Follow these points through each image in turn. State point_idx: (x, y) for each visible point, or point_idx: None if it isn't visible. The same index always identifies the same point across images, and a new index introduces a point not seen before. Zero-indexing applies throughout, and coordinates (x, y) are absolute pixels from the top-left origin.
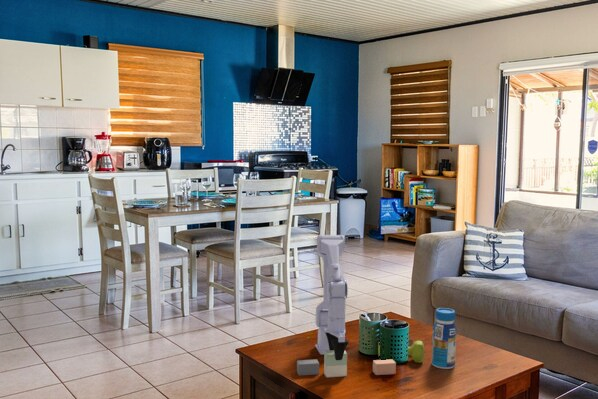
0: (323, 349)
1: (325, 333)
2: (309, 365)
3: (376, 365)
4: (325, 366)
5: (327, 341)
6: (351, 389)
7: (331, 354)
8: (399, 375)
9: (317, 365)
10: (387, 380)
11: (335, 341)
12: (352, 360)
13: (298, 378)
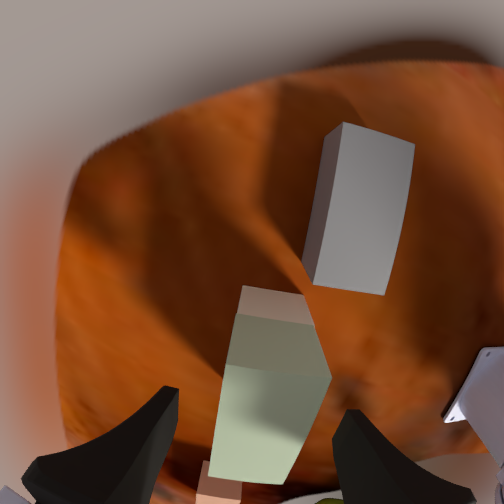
0: (492, 369)
1: (449, 495)
2: (325, 205)
3: (197, 489)
4: (274, 312)
5: (500, 404)
6: (84, 330)
7: (220, 399)
8: (185, 492)
9: (313, 266)
10: None
11: (35, 493)
12: None
13: (282, 118)
